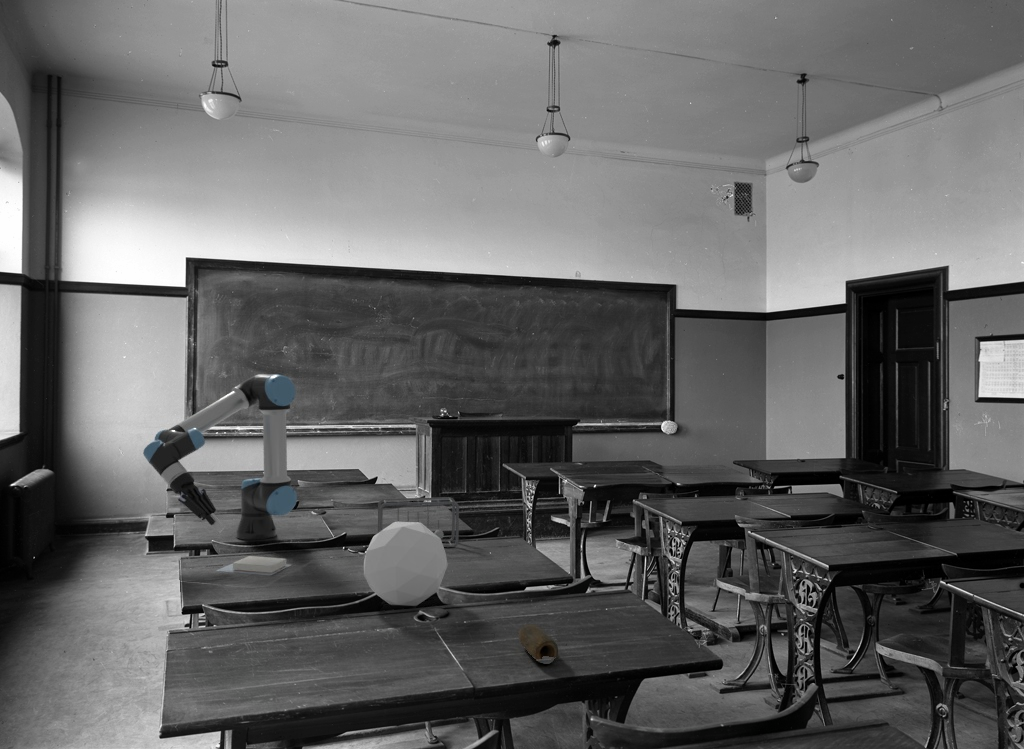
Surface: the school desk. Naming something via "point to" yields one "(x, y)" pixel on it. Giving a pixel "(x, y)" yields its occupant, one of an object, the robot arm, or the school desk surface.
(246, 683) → the school desk surface
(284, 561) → the tile
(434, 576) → the geometric polyhedron
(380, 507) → the newton's cradle
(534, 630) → the brown hollow tube
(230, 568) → the mat
